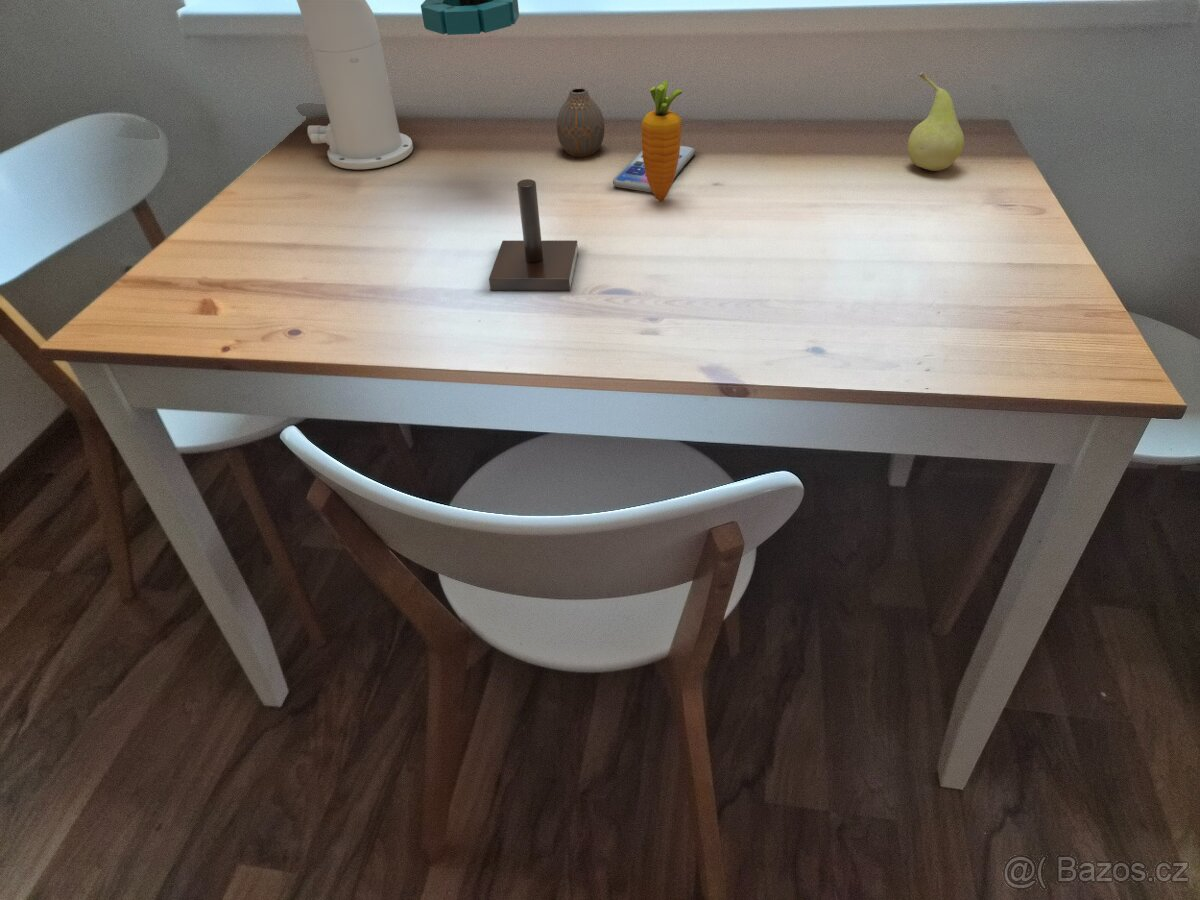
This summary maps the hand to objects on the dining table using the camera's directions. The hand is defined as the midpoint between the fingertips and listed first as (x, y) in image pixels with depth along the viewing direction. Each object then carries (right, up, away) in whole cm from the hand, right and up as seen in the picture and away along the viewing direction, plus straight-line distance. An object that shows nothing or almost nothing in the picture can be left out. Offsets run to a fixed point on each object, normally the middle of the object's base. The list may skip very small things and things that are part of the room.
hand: (478, 11), depth 99 cm
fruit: (+60, -16, +11) cm, 63 cm away
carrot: (+23, -22, +7) cm, 32 cm away
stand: (+8, -33, -6) cm, 34 cm away
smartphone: (+23, -15, +14) cm, 30 cm away
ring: (0, -3, -3) cm, 4 cm away
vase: (+12, -10, +20) cm, 26 cm away
